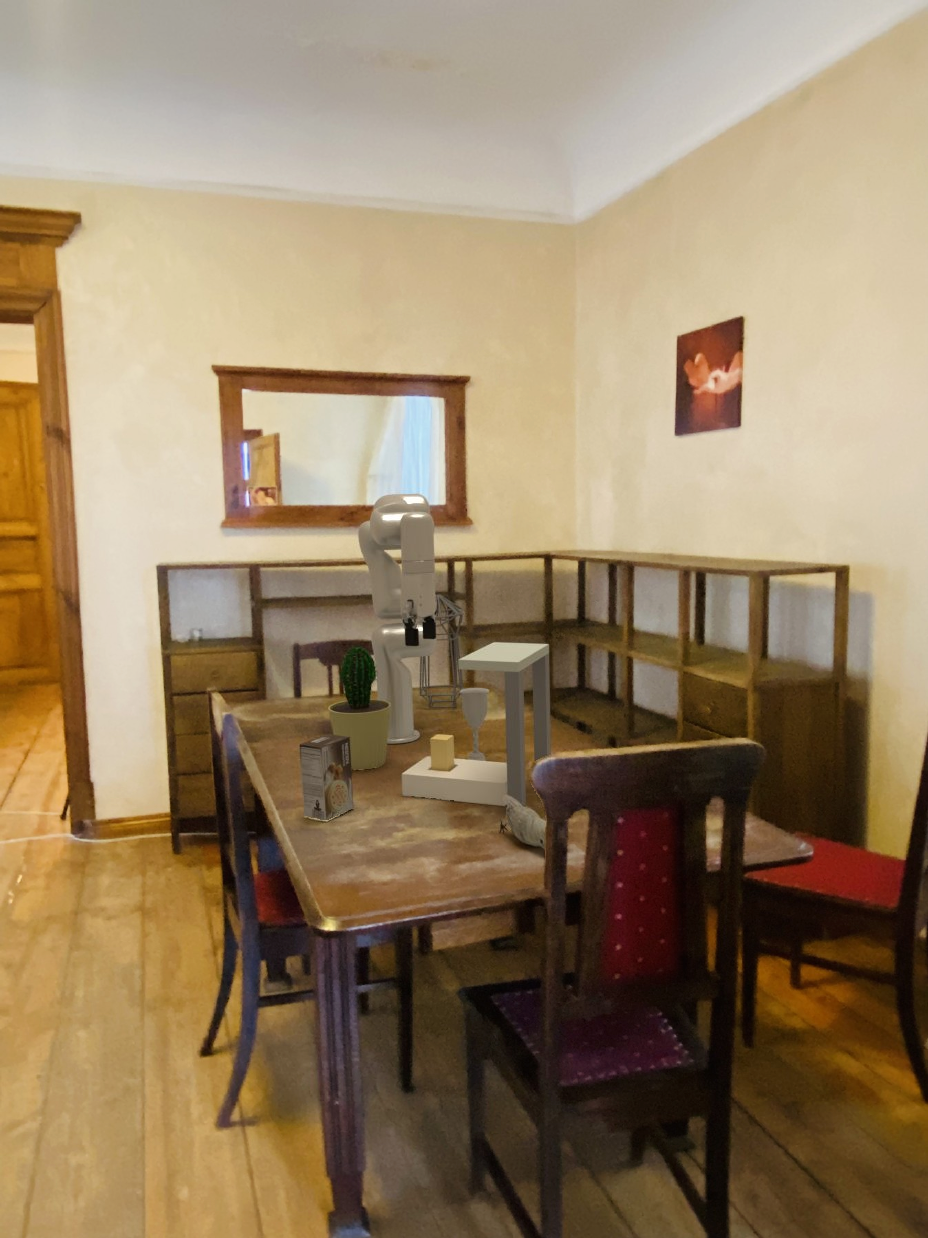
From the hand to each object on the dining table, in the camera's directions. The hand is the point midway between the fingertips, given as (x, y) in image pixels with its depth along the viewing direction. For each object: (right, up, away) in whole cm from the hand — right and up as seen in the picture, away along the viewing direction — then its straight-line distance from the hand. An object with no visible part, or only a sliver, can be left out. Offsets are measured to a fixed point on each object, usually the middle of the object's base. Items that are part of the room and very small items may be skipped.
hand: (421, 642), depth 210 cm
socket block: (+10, -33, -5) cm, 35 cm away
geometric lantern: (+3, -22, +77) cm, 80 cm away
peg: (+5, -33, -4) cm, 34 cm away
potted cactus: (-15, -31, +17) cm, 39 cm away
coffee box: (-19, -36, -18) cm, 44 cm away
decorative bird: (+22, -38, -37) cm, 57 cm away
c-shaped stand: (+20, -33, -9) cm, 40 cm away
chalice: (+13, -30, +16) cm, 36 cm away
